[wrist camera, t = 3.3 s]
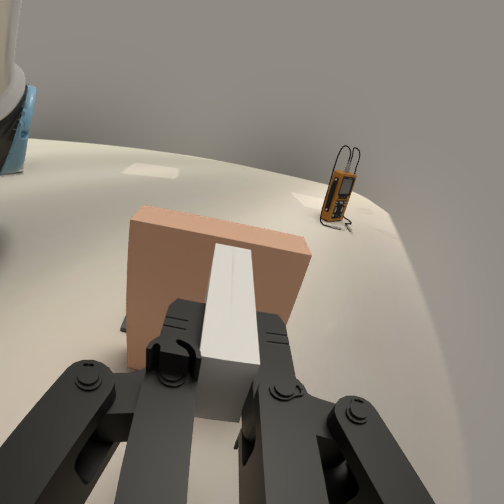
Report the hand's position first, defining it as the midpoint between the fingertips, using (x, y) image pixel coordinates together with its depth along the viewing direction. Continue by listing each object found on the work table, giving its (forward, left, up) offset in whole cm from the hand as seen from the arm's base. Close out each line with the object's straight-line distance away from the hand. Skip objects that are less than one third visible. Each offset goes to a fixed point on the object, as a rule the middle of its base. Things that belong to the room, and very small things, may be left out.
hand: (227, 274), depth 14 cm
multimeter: (-10, +67, -15) cm, 70 cm away
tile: (-5, +6, -15) cm, 17 cm away
